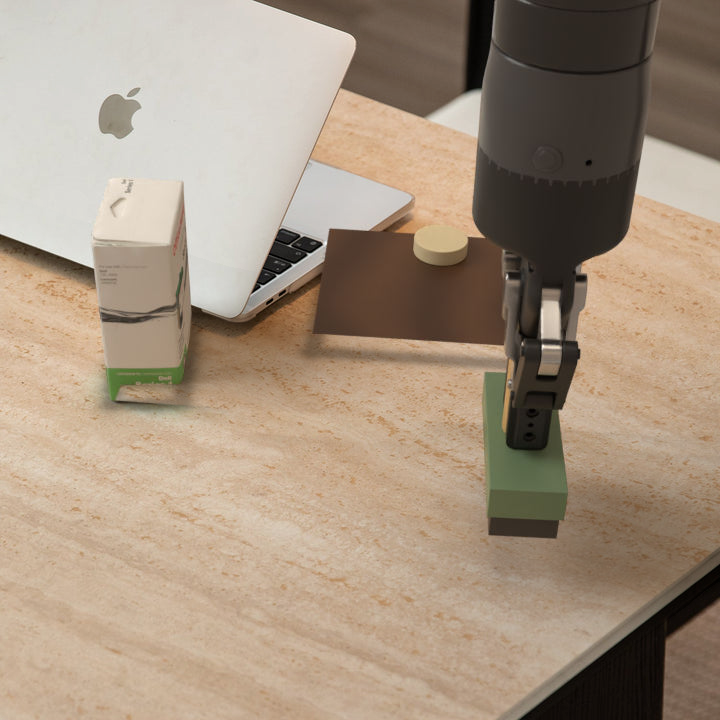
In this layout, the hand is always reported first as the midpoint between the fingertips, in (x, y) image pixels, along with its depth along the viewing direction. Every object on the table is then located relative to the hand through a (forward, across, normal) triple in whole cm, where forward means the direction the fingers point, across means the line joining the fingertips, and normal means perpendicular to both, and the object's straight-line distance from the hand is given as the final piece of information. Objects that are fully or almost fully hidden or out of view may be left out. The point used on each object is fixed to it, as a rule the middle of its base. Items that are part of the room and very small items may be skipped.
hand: (524, 426), depth 67 cm
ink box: (+7, +13, +23) cm, 28 cm away
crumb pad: (+6, +27, +4) cm, 28 cm away
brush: (+4, 0, 0) cm, 4 cm away
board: (+7, +23, +4) cm, 24 cm away
